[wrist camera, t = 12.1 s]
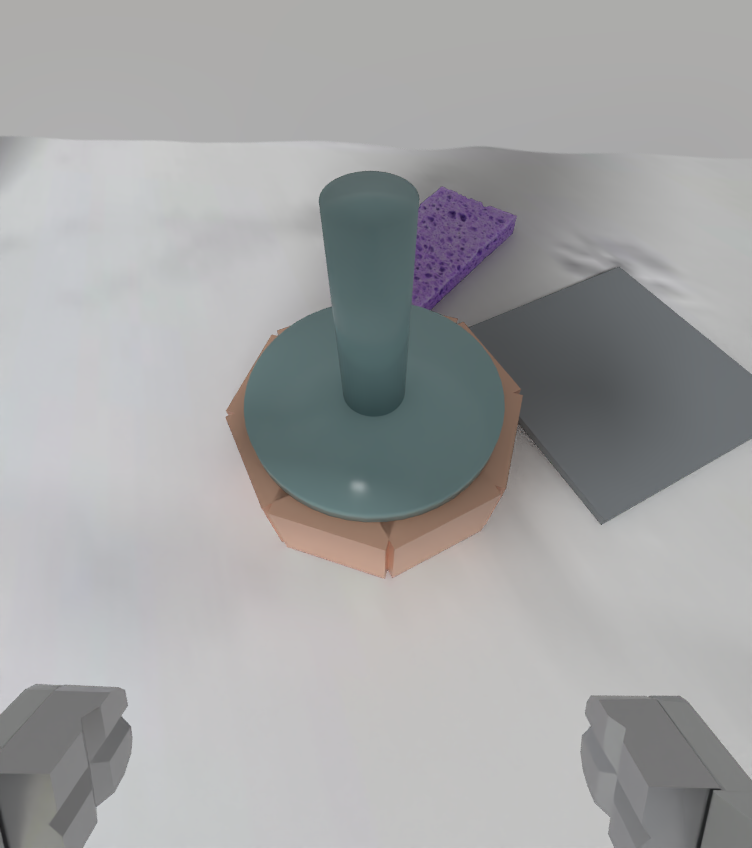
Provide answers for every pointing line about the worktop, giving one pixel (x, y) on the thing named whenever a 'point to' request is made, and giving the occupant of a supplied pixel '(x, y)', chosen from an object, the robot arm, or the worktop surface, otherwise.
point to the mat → (619, 389)
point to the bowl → (382, 541)
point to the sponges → (453, 242)
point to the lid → (373, 375)
